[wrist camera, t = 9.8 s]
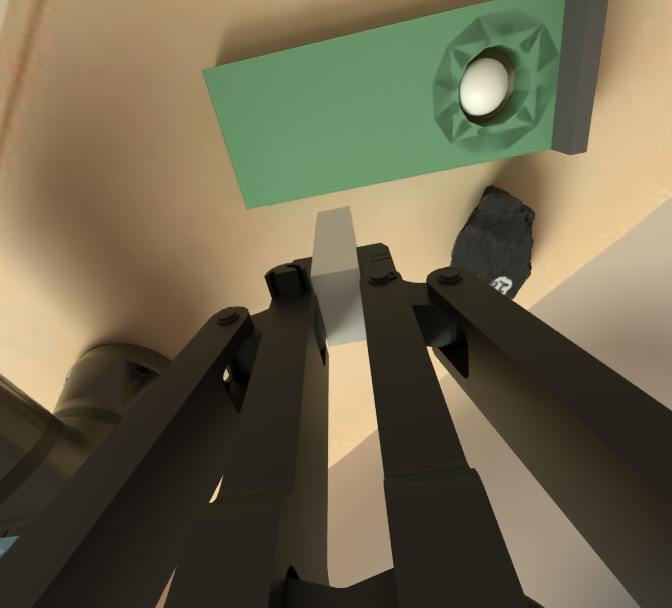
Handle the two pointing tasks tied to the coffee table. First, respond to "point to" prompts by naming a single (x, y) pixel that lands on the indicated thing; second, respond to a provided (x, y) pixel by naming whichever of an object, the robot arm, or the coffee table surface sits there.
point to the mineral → (497, 242)
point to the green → (406, 99)
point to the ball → (482, 86)
